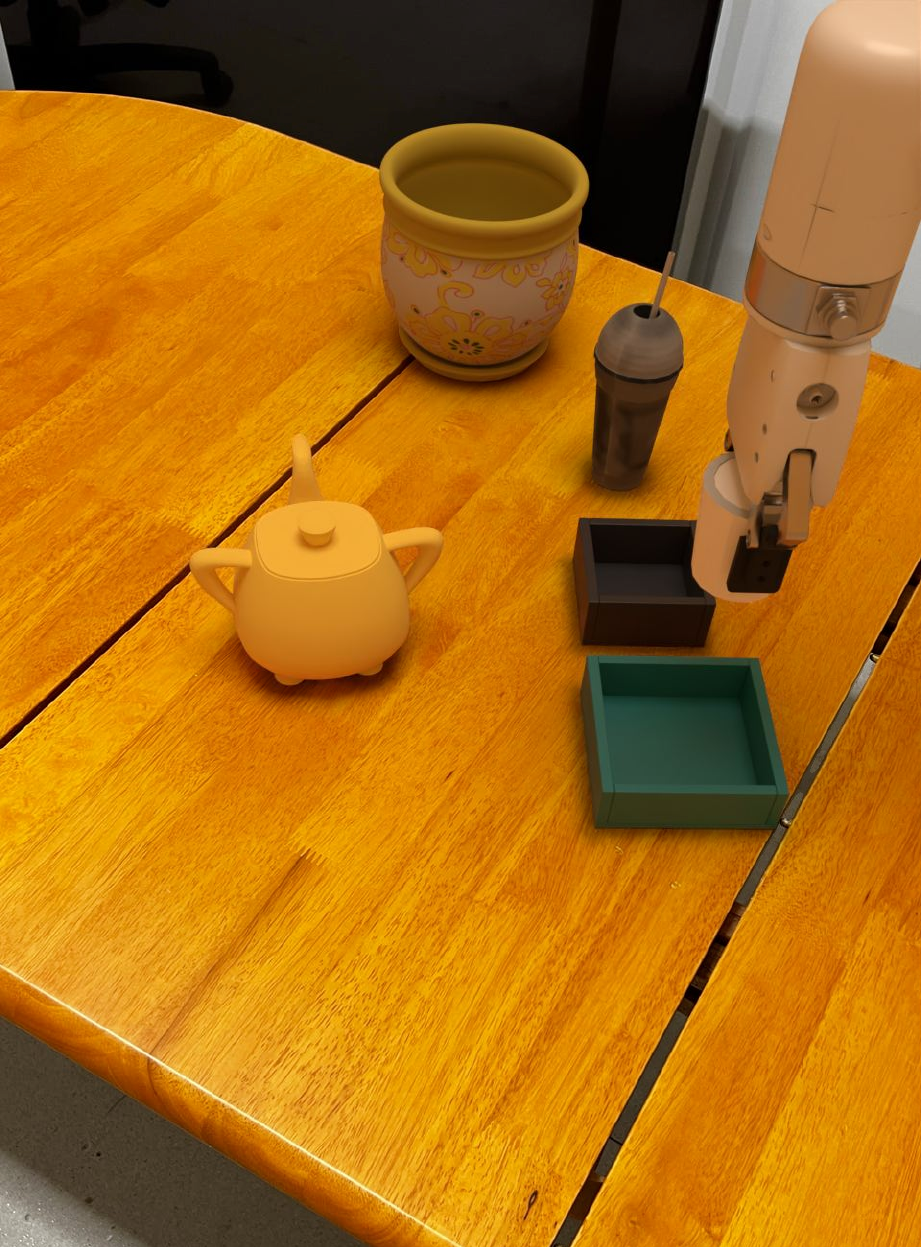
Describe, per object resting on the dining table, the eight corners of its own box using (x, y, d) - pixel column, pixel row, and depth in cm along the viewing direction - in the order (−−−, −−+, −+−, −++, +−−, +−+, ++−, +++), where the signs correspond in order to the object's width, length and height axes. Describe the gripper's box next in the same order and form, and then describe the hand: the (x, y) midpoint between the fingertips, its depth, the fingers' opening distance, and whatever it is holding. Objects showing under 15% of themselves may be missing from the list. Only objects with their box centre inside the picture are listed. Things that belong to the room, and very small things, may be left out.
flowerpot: (591, 390, 117) (617, 217, 104) (402, 410, 114) (404, 235, 101) (537, 285, 127) (555, 115, 114) (362, 301, 124) (360, 128, 111)
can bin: (688, 563, 103) (699, 519, 100) (704, 647, 98) (716, 604, 94) (572, 560, 103) (578, 517, 99) (581, 645, 97) (589, 602, 93)
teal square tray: (746, 694, 95) (759, 657, 92) (774, 829, 87) (790, 794, 84) (580, 692, 94) (586, 654, 91) (594, 827, 87) (602, 792, 83)
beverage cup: (563, 455, 111) (594, 235, 95) (639, 442, 113) (681, 224, 97) (593, 507, 107) (631, 287, 91) (672, 493, 109) (722, 275, 93)
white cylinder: (769, 532, 83) (797, 443, 77) (803, 605, 79) (834, 517, 73) (669, 540, 82) (689, 451, 76) (698, 614, 78) (722, 525, 72)
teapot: (451, 618, 98) (459, 496, 89) (348, 734, 91) (344, 615, 81) (305, 550, 102) (298, 426, 93) (194, 656, 94) (173, 533, 85)
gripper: (933, 383, 60) (827, 649, 74) (858, 197, 70) (778, 462, 84) (777, 378, 59) (701, 646, 73) (724, 192, 70) (666, 459, 84)
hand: (742, 546), depth 79 cm, fingers closed on white cylinder, 6 cm apart
